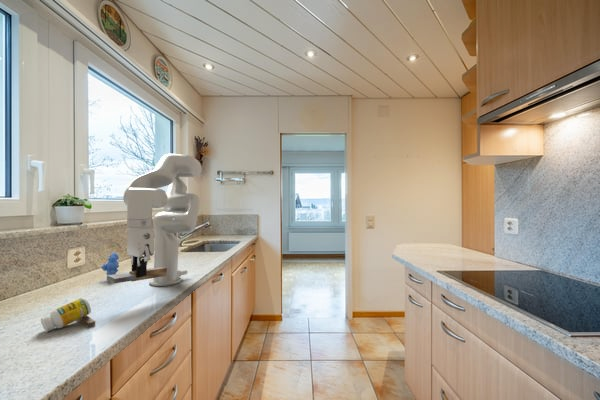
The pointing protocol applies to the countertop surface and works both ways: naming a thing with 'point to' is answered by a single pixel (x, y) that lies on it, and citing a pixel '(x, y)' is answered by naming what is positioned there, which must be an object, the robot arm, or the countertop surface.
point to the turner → (132, 275)
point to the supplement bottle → (66, 314)
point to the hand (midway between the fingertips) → (138, 275)
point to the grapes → (111, 264)
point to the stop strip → (87, 321)
